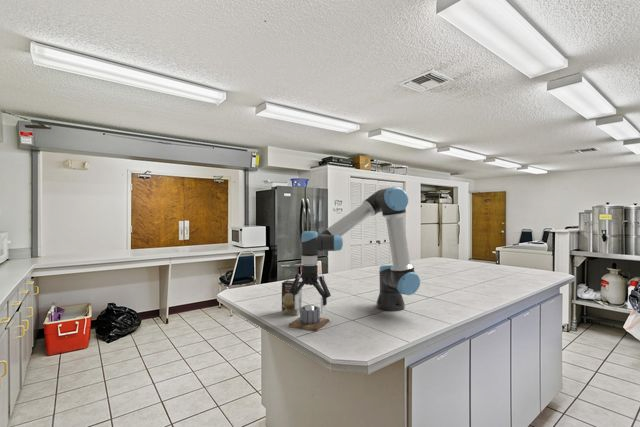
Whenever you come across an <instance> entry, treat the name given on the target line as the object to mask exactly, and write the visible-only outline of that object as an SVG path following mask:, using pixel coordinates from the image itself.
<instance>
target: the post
mask: <svg viewBox="0 0 640 427" xmlns="http://www.w3.org/2000/svg"><path fill="white" fill-rule="evenodd" d="M304 306H305V310H308V311H310V310H314V306H315V305H313V304H306V305H304Z"/></svg>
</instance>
